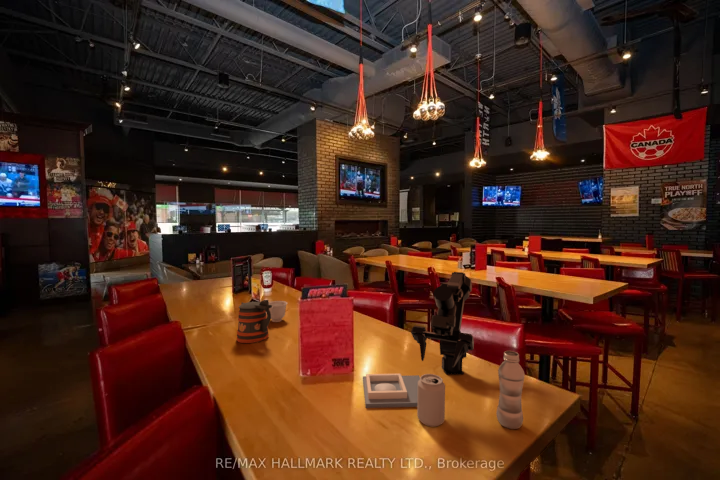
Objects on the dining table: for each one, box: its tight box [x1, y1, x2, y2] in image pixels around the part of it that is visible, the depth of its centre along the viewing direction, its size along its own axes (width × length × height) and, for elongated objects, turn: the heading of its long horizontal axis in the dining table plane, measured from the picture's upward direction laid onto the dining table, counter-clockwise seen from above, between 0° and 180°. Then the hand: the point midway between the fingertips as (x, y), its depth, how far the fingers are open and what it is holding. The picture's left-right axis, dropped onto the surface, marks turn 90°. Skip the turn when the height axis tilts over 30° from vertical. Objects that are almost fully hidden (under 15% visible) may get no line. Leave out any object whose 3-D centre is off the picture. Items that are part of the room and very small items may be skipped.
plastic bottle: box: [495, 350, 526, 430], centre depth 86 cm, size 6×7×20 cm
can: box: [416, 373, 446, 427], centre depth 88 cm, size 8×8×12 cm
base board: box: [362, 373, 421, 409], centre depth 103 cm, size 20×17×3 cm
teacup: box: [268, 300, 288, 323], centre depth 177 cm, size 12×15×10 cm
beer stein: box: [236, 299, 272, 344], centre depth 150 cm, size 19×15×20 cm
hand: (437, 363), depth 94 cm, fingers open, 9 cm apart
